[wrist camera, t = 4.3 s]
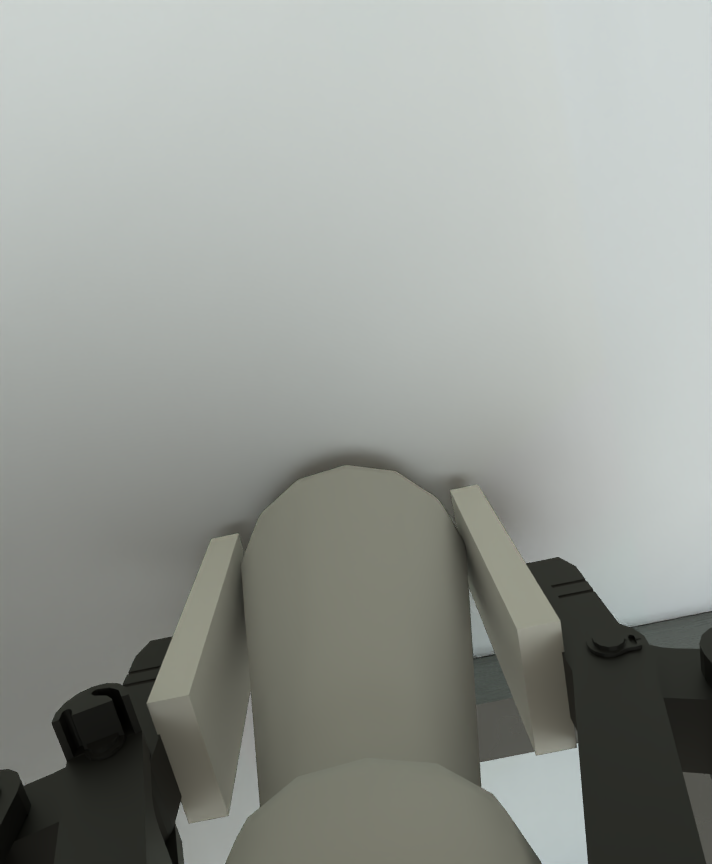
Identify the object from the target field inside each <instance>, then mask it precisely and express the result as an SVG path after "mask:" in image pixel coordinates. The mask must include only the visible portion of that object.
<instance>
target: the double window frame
mask: <svg viewBox="0 0 712 864" xmlns="http://www.w3.org/2000/svg"><path fill="white" fill-rule="evenodd" d="M711 627H712V612H709V613H704V614H699V615H694V616H689V617H683V618H678V619H673V620H668V621H663V622H658V623H653V624H648V625H643V626H638V627H633V629H635V630H637V631H638V632H639V633H641V634H642V635H644V636H645V638H646V640H647V641H648V643H649V645H653V646H658V647H665V648H686V649H700V645H699V643H700V639H701V636H702V634H703V633H704V632H706V631H707V630H708V629H709V628H711ZM473 665H474V681H475V697H476V713H477V729H478V745H479V761H480V762H484V761H489V760H494V759H499V758H504V757H509V756H514V755H519V754H524V753H529V752H535V751H534V749H533V746H532V744H531V741H530V739H529V736H528V734H527V731H526V729H525V726H524V724H523V721H522V719H521V716H520V714H519V711H518V709H517V706H516V704H515V701H514V699H513V696H512V694H511V691H510V689H509V686H508V684H507V681H506V679H505V676H504V674H503V671H502V669H501V666H500V664H499V661H498V659H497V656H496V655H492V656H487V657H482V658H477V659H473ZM574 730H575V738H576V743H578V734H577V730H576V728H575V726H574ZM683 776H684V779H685V783H686V787H687V791H688V795H689V799H690V803H691V806H692V810H693V814H694V818H695V822H696V826H697V830H698V833H699V837H700V841H701V845H702V849H703V853H704V857H705V860H706V864H712V779H711V777H710V774H702V773H689V772H683Z"/></svg>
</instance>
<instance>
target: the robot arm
mask: <svg viewBox="0 0 712 864" xmlns="http://www.w3.org/2000/svg"><path fill="white" fill-rule="evenodd" d="M450 493H451V499H452V505H453V510H454V516H455V522H456V528H457V530H458V532H459V533H460V535H461V537H462V538H463V540H464V543H465V546H466V553H467V569H468V585H469V589H470V592H471V594H472V597H473V599H474V601H475V604H476V606H477V609H478V611H479V614H480V616H481V619H482V621H483V624H484V626H485V629H486V631H487V634H488V636H489V639H490V641H491V644H492V646H493V649H494V651H495V654H496V656H497V659H498V661H499V664H500V666H501V669H502V671H503V674H504V676H505V679H506V681H507V684H508V686H509V689H510V691H511V694H512V696H513V699H514V701H515V704H516V706H517V709H518V711H519V714H520V716H521V719H522V721H523V724H524V726H525V729H526V731H527V734H528V736H529V739H530V741H531V744H532V746H533V749H534V751H535V754H536V755H542V754H547V753H552V752H557V751H562V750H567V749H572V748H577V745H576V738H575V730H574V726H575V728H576V730H577V734H578V746H579V758H580V770H581V782H582V794H583V807H584V819H585V831H586V843H587V855H588V864H706V860H705V857H704V853H703V849H702V845H701V841H700V837H699V833H698V830H697V826H696V822H695V818H694V814H693V810H692V806H691V803H690V799H689V795H688V791H687V787H686V783H685V779H684V776H683V772H689V773H702V774H710V777H711V779H712V627H711V628H709V629H708V630H707V631H706V632H704V633H703V634H702V636H701V639H700V643H699V645H700V649H686V648H665V647H658V646H653V645H649V643H648V641H647V640H646V638H645V636H644V635H642V634H641V633H639V632H638V631H637V630H635V629H633V628H630V627H627V626H624V625H621V624H619V623H618V622H617V620H616V619H615V618H614V617H613V615H612V614H611V613H610V611H609V610H608V609H607V607H606V606H605V605H604V603H603V602H602V601H601V599H600V598H599V597H598V595H597V594H596V593H595V592H593V589H592V587H591V586H590V585H589V583H588V582H587V581H585V578H584V577H583V575H582V574H581V573H580V571H579V570H578V569H577V567H576V566H574V565H572V564H570V563H568V562H567V561H565V560H563V559H561V558H559V557H556V558H552V559H547V560H542V561H537V562H532V563H527V564H526V563H525V562H524V560H523V558H522V557H521V555H520V553H519V552H518V550H517V548H516V547H515V545H514V543H513V542H512V540H511V539H510V537H509V535H508V534H507V532H506V530H505V529H504V527H503V525H502V524H501V522H500V520H499V519H498V517H497V515H496V514H495V512H494V510H493V509H492V507H491V506H490V504H489V502H488V501H487V499H486V497H485V496H484V494H483V492H482V491H481V489H480V487H479V486H478V484H477V485H472V486H467V487H462V488H457V489H453V490H450ZM243 557H244V551H243V547H242V543H241V540H240V536H239V533H237V534H232V535H227V536H222V537H218V538H213V539H211V541H210V543H209V546H208V548H207V551H206V554H205V556H204V559H203V561H202V564H201V566H200V569H199V571H198V574H197V576H196V579H195V581H194V584H193V587H192V589H191V592H190V594H189V597H188V599H187V602H186V604H185V607H184V609H183V612H182V614H181V617H180V620H179V622H178V625H177V627H176V630H175V632H174V635H173V637H168V638H163V639H158V640H153V641H150V642H149V643H148V644H147V645H146V646H145V647H144V648H143V650H142V651H141V652H140V653H139V654H138V655H137V656H136V657H135V659H134V661H133V663H132V666H131V668H130V670H129V675H127V676H126V679H125V681H124V683H123V685H120V684H118V683H106V684H102V685H98V686H94V687H91V688H89V689H87V690H85V691H83V692H81V693H79V694H77V695H76V696H74V697H73V698H71V699H70V700H69V701H67V702H66V703H65V704H64V705H63V706H62V707H61V708H60V709H59V710H58V711H57V712H56V714H55V716H54V718H53V721H52V725H53V728H54V730H55V733H56V735H57V738H58V740H59V743H60V745H61V747H62V750H63V752H64V755H65V757H66V760H67V764H66V767H65V768H63V769H61V770H59V771H57V772H55V773H53V774H51V775H48V776H46V777H44V778H41V779H39V780H37V781H34V782H32V783H30V784H27V785H25V786H23V785H22V782H21V780H20V778H19V775H18V773H17V772H14V771H12V770H9V769H6V770H0V864H184V859H183V848H182V840H181V838H180V835H179V832H178V829H177V827H176V824H175V820H176V817H177V813H178V809H179V805H180V801H181V803H182V805H183V808H184V811H185V814H186V817H187V820H188V822H189V823H195V822H200V821H205V820H210V819H215V818H220V817H225V816H229V811H230V805H231V799H232V793H233V788H234V782H235V776H236V770H237V765H238V759H239V753H240V748H241V742H242V736H243V730H244V725H245V719H246V713H247V707H248V702H249V696H250V690H251V687H250V675H249V662H248V650H247V637H246V625H245V612H244V600H243V587H242V575H241V562H242V559H243Z"/></svg>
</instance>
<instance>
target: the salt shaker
mask: <svg viewBox="0 0 712 864" xmlns="http://www.w3.org/2000/svg"><path fill="white" fill-rule="evenodd" d="M241 575H242V587H243V600H244V612H245V625H246V637H247V650H248V662H249V675H250V687H251V700H252V712H253V725H254V737H255V750H256V762H257V775H258V787H259V800H260V808H259V809H258V810H256V811H255V812H254V813H253V814H252V815H250V816H249V817H248V818H247V820H246V821H245V823H244V825H243V827H242V829H241V831H240V832H239V834H238V836H237V838H236V840H235V842H234V845H233V847H232V849H231V852H230V854H229V856H228V858H227V861H226V863H225V864H542V863H541V861H540V860H539V858H538V857H537V855H536V854H535V852H534V851H533V849H532V848H531V846H530V845H529V843H528V842H527V841H526V839H525V838H524V836H523V835H522V833H521V832H520V830H519V829H518V827H517V826H516V824H515V823H514V822H513V820H512V819H511V817H510V816H509V814H508V813H507V811H506V810H505V809H504V807H503V806H502V805H501V804H500V802H499V801H498V800H497V799H496V797H495V796H494V795H493V794H492V793H490V792H488V791H486V790H484V789H483V788H481V777H480V761H479V745H478V729H477V713H476V697H475V681H474V665H473V649H472V633H471V617H470V601H469V585H468V569H467V553H466V546H465V543H464V540H463V538H462V537H461V535H460V533H459V532H458V530H457V528H456V527H455V525H454V523H453V522H452V520H451V519H450V517H449V515H448V514H447V512H446V510H445V509H444V507H443V505H442V504H441V502H440V501H439V500H438V499H437V498H436V497H435V496H433V495H432V494H430V493H429V492H427V491H426V490H424V489H423V488H421V487H419V486H418V485H416V484H415V483H413V482H412V481H410V480H409V479H407V478H405V477H404V476H402V475H401V474H399V473H398V472H396V471H391V470H383V469H375V468H367V467H359V466H350V465H343V466H340V467H337V468H334V469H330V470H327V471H324V472H321V473H317V474H314V475H311V476H308V477H305V478H301V479H298V480H297V481H296V482H295V483H293V484H292V485H291V486H290V487H289V488H288V489H287V490H286V491H285V492H284V493H282V494H281V495H280V496H279V497H278V498H277V499H276V500H275V501H274V502H273V503H272V504H270V505H269V506H268V507H267V508H266V509H265V510H264V511H263V512H262V513H261V515H260V516H259V518H258V520H257V522H256V525H255V528H254V530H253V533H252V536H251V538H250V541H249V544H248V546H247V549H246V552H245V554H244V557H243V559H242V562H241Z"/></svg>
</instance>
